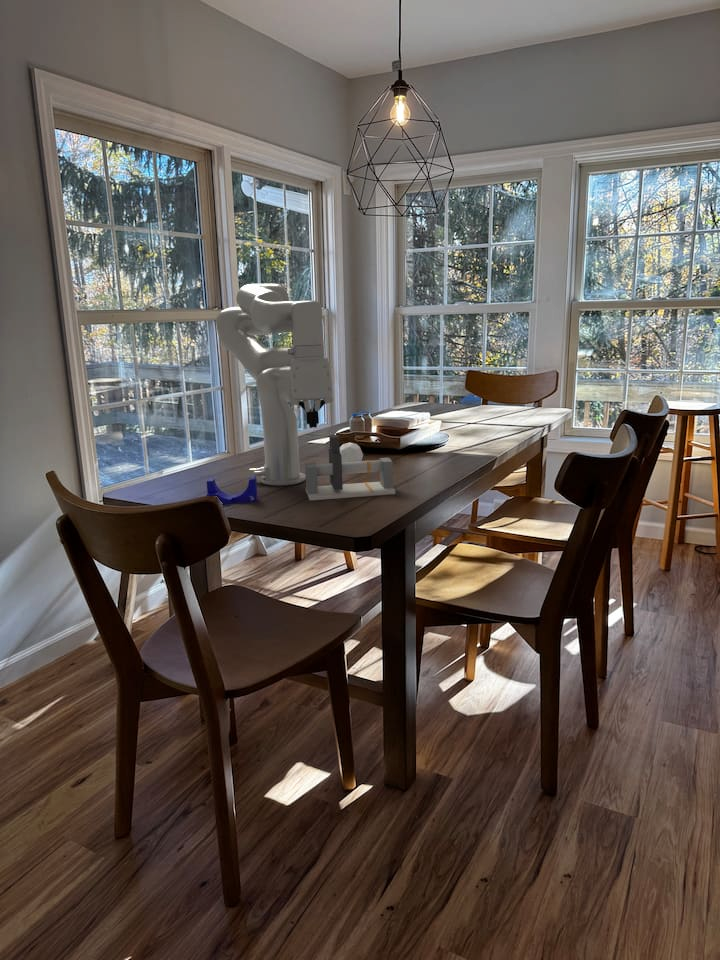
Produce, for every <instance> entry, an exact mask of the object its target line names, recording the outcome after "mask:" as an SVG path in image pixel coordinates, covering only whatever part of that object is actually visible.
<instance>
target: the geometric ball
mask: <svg viewBox="0 0 720 960" xmlns="http://www.w3.org/2000/svg"><path fill="white" fill-rule="evenodd" d="M340 454H341V457H342V463H344V462H359V461H363V456H364V453H363V451H362V449H361V447H360V445H358V444H357V443H354V442H347V443H343V444H342V445H340Z"/></svg>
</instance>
